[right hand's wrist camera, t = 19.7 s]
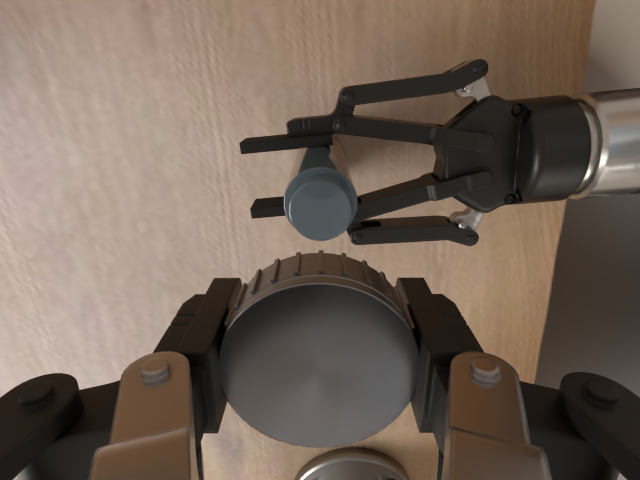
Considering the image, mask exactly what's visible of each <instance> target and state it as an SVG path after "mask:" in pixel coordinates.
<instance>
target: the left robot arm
mask: <svg viewBox="0 0 640 480" xmlns="http://www.w3.org/2000/svg"><path fill="white" fill-rule="evenodd" d="M487 71H488V64H487V62H486V61H484V60H482V59H477V60H470V61H465V62H463V63H461V64H459V65H457V66H455V67H453V68H451V69H449V70H448V71H446V72H444V73H442V74H435V75H428V76H421V77H413V78H406V79H398V80H391V81H384V82H376V83H369V84H362V85H354V86H347V87H344V88H342V89H341V90H340V92H339V96H338V100H337V104H336V107H335V110H334V111H333V112H332V113H331V114H329V115H322V116H312V117H301V118H294V119H292V120H290V121H288V122H287V123H286V124H287V132H288V134H284V135H274V136H264V137H253V138H246V139H244V140H243V141H242V142H240V143H239V144H240V150H241V154H247V153H257V152H268V151H278V150H289V149H299V148H310V147H320V146H331V145H333V137H332V134H336V133H339V134H346V135H355V136H363V137H372V138H380V139H389V140H397V141H406V142H414V143H423V144H429V145H434V151H435V154H436V161H435V165H434V172H431V173H428V174H424V175H422V176H421V177H420V178H417V179H414V180H410V181H407V182H404V183H400V184H397V185H393V186H390V187H387V188H383V189H380V190H377V191H373V192H370V193H367V194H363V195H360V196H357V201H358V205H357V211H356V214H355V217H354V219H353V221H352V222H351V224H350V225H349V227H348V228H347V229H346V230H347V232H348V234H349V237H350V239H351V242H352V243H353V244H355V245H366V244H384V243H402V242H420V241H438V240H450V241H453V242H457V243H460V244H464V245H467V246H472V245H475V244H476V243H477V242H478V239H479V236H478V234H477V233H476V232H475V231H476V229H477V227H478V225H479V223H480V220H481V218H482V216H483V214H484V213H488V212H491V211H493V210H494V209H496V208H498V207H500V206H503V205H510V204H525V203H537V202H548V201H559V200H564V199H566V198H570V199H584V198H593V197H603V196H613V195H622V194H637V193H640V88H635V89H624V90H613V91H603V92H591V93H581V94H574V95H572V96H570V97H568V96H564V95H559V96H549V97H539V98H528V99H518V100H505V99H502V98H500V97H498V96H495V95H491V93H490V90H489V87H488V84H487V81H486V78H485V75H486V73H487ZM448 92H453V94H454V95H455V96H457V97H468V96H469V97H470V98H471V99H472V100H473V101H472V102H471V103H470V104H469V105H468V106H466V107H465V108H464V109H463V110H462V111H460V112H459V113H458V114H457V115H455V116H454V117H453V118H452V119H451V120H449V121H448V122H447V123H446V124H445V125H438V124H430V123H418V122H409V121H401V120H392V119H384V118H376V117H367V116H359V115H353V111H354V108H355V105H360V104H367V103H375V102H382V101H390V100H397V99H405V98H412V97H420V96H427V95H435V94H442V93H448ZM448 197H453V198H455V199H457V200H458V201H460V202H462V203H463V204H465V205H466V206H468V207H467V209H466V210H464V211H462V212H454V213H452V214H451V215H450V216H449V217H446V216H420V217H403V218H386V219H368V218H371V217H375V216H378V215H381V214H385V213H388V212H392V211H395V210H399V209H402V208H406V207H409V206H412V205H416V204H419V203H423V202H426V201H431V200H432V201H437V200H441V199H445V198H448ZM250 210H251V216H252V218H263V217H274V216H285V215H286V214H285V210H284V197H273V198H262V199H256V200H255V201H254V203H253V205H252V207H251V209H250ZM364 219H368V220H364ZM295 480H409V477H408V475H407V473H406V472H405V470H404V469H403V468H402V467H401V465H399V464H398V463H397V462H396V461H394V460H393V459H392V458H390V457H388V456H386V455H384V454H381V453H379V452H375V451H372V450H367V449H356V448H351V449H340V450H335V451H331V452H328V453H325V454H322V455H320V456H318V457H316V458H314V459H312V460H311V461H309V462H308V463H307V464H306V465H305V466H304V467H303V468H302V469H301V470H300V471H299V472H298V474H297V476H296V478H295Z"/></svg>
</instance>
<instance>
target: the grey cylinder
mask: <svg viewBox="0 0 640 480" xmlns="http://www.w3.org/2000/svg"><path fill="white" fill-rule="evenodd" d="M357 205H358V201H357V194H356V191H355V188H354V185H353V181H352V178H351V175H350V172H349V169H348V166H347V162H346V159H345V156H344V153H343V150H342V147H341V145H340V143H339V142H338V141H337V140H336V139H335V138H334V137H333V145H331V146H320V147H310V148H300V149H299V152H298V155H297V158H296V161H295V164H294V167H293V170H292V173H291V176H290V179H289V182H288V185H287V188H286V192H285V195H284V210H285V214H286V217H287V219H288V220H289V222H290V223H291V225H292V226H293V227H294V228H295V229H296V230H297V231H298V232H299V233H300V234H301V235H303V236H304V237H306V238H309V239H312V240H316V241H325V240H329V239H333V238H335V237H337V236H339V235H340V234H342V233H344V231H345V230H346V229H347V228H348V227H349V225H350V224H351V222H352V221H353V219H354V217H355V214H356V211H357Z"/></svg>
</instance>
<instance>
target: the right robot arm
mask: <svg viewBox="0 0 640 480" xmlns="http://www.w3.org/2000/svg"><path fill="white" fill-rule="evenodd" d="M396 287H397V288H398V290H399V293H400V296H401V298H402V301H403V303H406V305H407V308H408V310H409V313H410V316H411V318H412V321H413V323H414V326H415V329H416V331H413V333H414V336H415V339H416V342H417V345H418V349H419V363H418V372H417V381H416V389H415V393H414V395H413V397H412V399H411V400H410V401H411V405H412V408H413V412H414V415H415V419H416V423H417V426H418V430H419V433H434V436H435V439H436V442H437V445H438V454H437V465H436V480H617V477H618V475H619V472H620V473H621V474H622V475H623V476H624V477H625V478H626V479H627V480H640V398H639V397H638V396H637V395H635V394H634V393H632V392H631V391H630V390H628V389H627V388H625V387H624V386H622V385H621V384H619V383H617V382H615V381H613V380H611V379H609V378H606V377H603V376H600V375H597V374H592V373H586V372H574V373H570V374H567V375H566V376H564V377H563V378H562V380H561V384H560V387H559V390H557V389H553V388H548V387H543V386H539V385H534V384H530V383H526V382H522V381H520V380H519V376H518V374H517V372H516V371H515V369H514V368H513V367H512V366H511V365H510V364H509V363H507V362H506V361H504V360H502V359H501V358H499V357H496V356H494V355H491V354H488V353H484V351H483V349H482V348H481V346H480V344H479V343H478V341H477V340H476V338H475V336H474V335H473V333H472V331H471V330H470V328H469V326H468V325H466V321H465V320H464V318H463V316H461V313H460V311H459V310H458V308H457V306H456V305H455V303H454V302H452V301H451V300H449V299H448V298H447V297H445V296H444V295H442V294H432V293H431V291H430V289H429V287H428V285H427V283H426V281H425V280H424V278H398V279H397V282H396ZM241 288H242V283H241V279H240V278H214V280H213V281H212V283H211V285H210V287H209V289H208V291H207V293H206V294H196V295H194V296H193V297H192V298H190V299H189V300H187V301H186V302H185V303H183V305H182V306H181V308H180V309H179V311H178V313H177V314H176V317H175V318H174V319H173V321H172V322H171V326H169V327H168V329H167V331H166V332H165V334H164V335H163V337H162V339H161V340H160V342H159V344H158V345H157V347H156V349H155V350H154V352H153V353H152V354H149V355H146V356H144V357H141V358H139V359H138V360H136V361H134V362H133V363H131V364H130V365H129V366H128V367H127V368H126V369H125V371H124V372H123V374H122V376H121V380H119V381H116V382H113V383H109V384H105V385H101V386H96V387H92V388H87V389H82V390H79V387H78V383H77V380H76V379H75V378H74V377H73V376H71V375H68V374H63V373H54V374H47V375H43V376H39V377H36V378H33V379H30V380H28V381H26V382H24V383H22V384H20V385H18V386H16V387H15V388H13V389H12V390H10V391H9V392H8V393H6V394H5V395H3V396H2V397H1V398H0V480H13V479H14V478H15V477H16V476H18V479H19V480H204V465H203V454H202V447H201V440H202V437H203V434H204V433H218V431H219V428H220V424H221V421H222V417H223V414H224V411H225V407H226V404H227V399H226V397H225V395H224V393H223V390H222V385H221V376H220V367H219V357H218V353H219V348H220V345H221V341H222V338H223V336H224V333H225V331H226V328H225V327H223V326H224V323H225V321H226V318H227V316H228V313H229V311H230V308H231V306H232V303H233V301H234V299H235V300H237V299H238V296H239V293H240V291H241Z"/></svg>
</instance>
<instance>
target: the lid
mask: <svg viewBox="0 0 640 480" xmlns="http://www.w3.org/2000/svg"><path fill="white" fill-rule="evenodd" d="M223 327H225V328H226V331H225V333H224V336H223V338H222V341H221V345H220V348H219V353H218V357H219V367H220V376H221V385H222V390H223V393H224V395H225V397H226V399H227V401H228V403H229V404H230V405H231V407H232V408H233V409H234V411H235V412H236V413H237V414H238V415H239V416H240V417H241V418H242V419H243V420H244V421H245V422H246V423H247V424H249V425H250V426H251V427H253V428H254V429H256V430H257V431H259V432H260V433H262V434H264V435H266V436H268V437H270V438H273V439H275V440H278V441H281V442H284V443H288V444H292V445H296V446H303V447H316V448H322V447H335V446H342V445H346V444H350V443H354V442H357V441H360V440H363V439H365V438H368V437H370V436H372V435H374V434H376V433H377V432H379V431H381V430H382V429H384V428H385V427H387V426H388V425H389V424H390V423H392V422H393V421H394V420H395V419H396V418H397V417H398V416H399V415H400V414H401V413H402V412H403V411H404V409H405V408H406V407H407V405H408V404H409V402H410V400H411V399H412V397H413V395H414V393H415V389H416V381H417V372H418V363H419V349H418V345H417V342H416V339H415V336H414V333H413V331H416V329H415V326H414V323H413V321H412V318H411V316H410V313H409V310H408V308H407V305H406V303H403V301H402V298H401V296H400V293H399V290H398V288H397V287H396V286H395V287H393V286H392V285H391V284H390V283H389V282H388V281H387V280H386V277H385V274H384V273H383V272H382V271H381V272H380V273H378V272H377V271H376V270H374V269H373V268H371V267H369V266H368V265H367V262H366V261H364V260H363V261H362V262H360V261H358V260H355V259H352V258H349V257H346V254H345V253H342V254H341V255H336V254H329V253H323V250H319V253H308V254H302V255H301V252H298V253H296V256H292V257H289V258H286V259H283V260H281V261H280V260H279V258H278V259H276V260H275V262H274V264H272V265H270V266H269V267H267V268H265V269H264V270H262V271H261V270H260V269H259V270H257V272H256V275H255V277H254V278H253V279H252V280H251V281H250V282H249V283H248V284H246V283H244V284H243V285H242V288H241V291H240V293H239V296H238V299H237V300H235V299H234V301H233V303H232V306H231V308H230V311H229V313H228V316H227V318H226V321H225V323H224V326H223Z"/></svg>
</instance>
